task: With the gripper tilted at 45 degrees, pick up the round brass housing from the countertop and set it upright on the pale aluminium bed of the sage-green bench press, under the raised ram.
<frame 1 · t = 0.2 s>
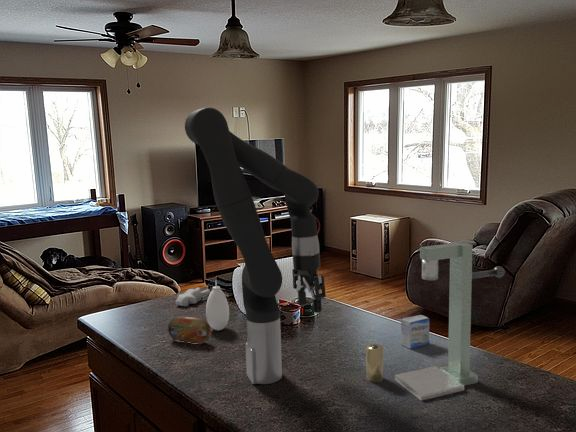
hand: (310, 308, 145), 18 cm above the kitchen island, tool pointing down, fingers open, 8 cm apart
press bed: (428, 385, 135), on the kitchen island
tin: (190, 342, 170), on the kitchen island
housing: (374, 378, 140), on the kitchen island
medicine box: (415, 345, 162), on the kitchen island
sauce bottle: (218, 330, 180), on the kitchen island
bunny figurine: (192, 302, 211), on the kitchen island
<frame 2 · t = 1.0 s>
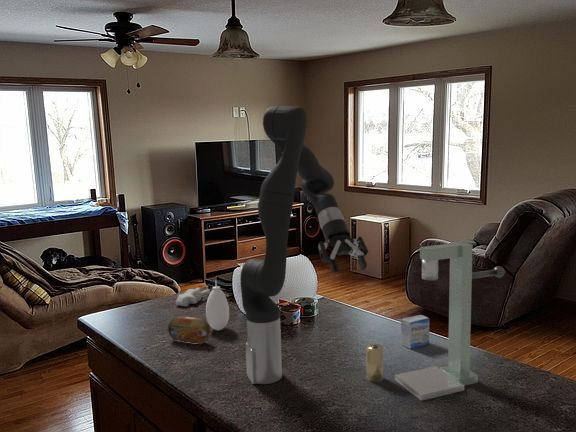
hand: (350, 270, 148), 27 cm above the kitchen island, tool tilted 45°, fingers open, 8 cm apart
nothing on the kitchen island moved.
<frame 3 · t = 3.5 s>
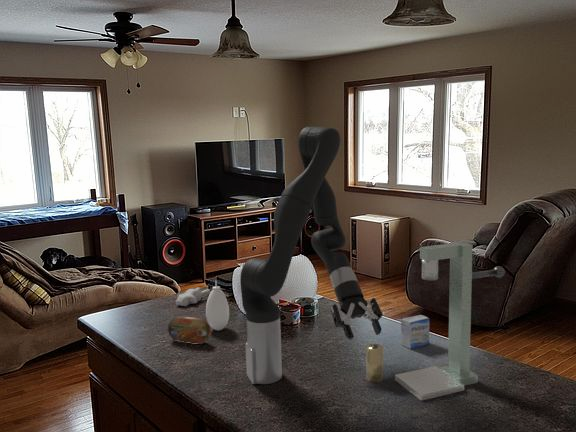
hand: (365, 336, 143), 10 cm above the kitchen island, tool tilted 45°, fingers open, 8 cm apart
nothing on the kitchen island moved.
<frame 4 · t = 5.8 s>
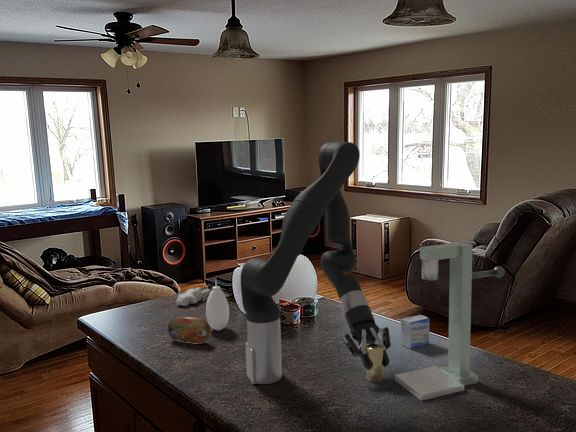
hand: (378, 366, 138), 4 cm above the kitchen island, tool tilted 45°, fingers closed on housing, 4 cm apart
housing: (374, 378, 140), on the kitchen island, touching gripper
everything else where it was.
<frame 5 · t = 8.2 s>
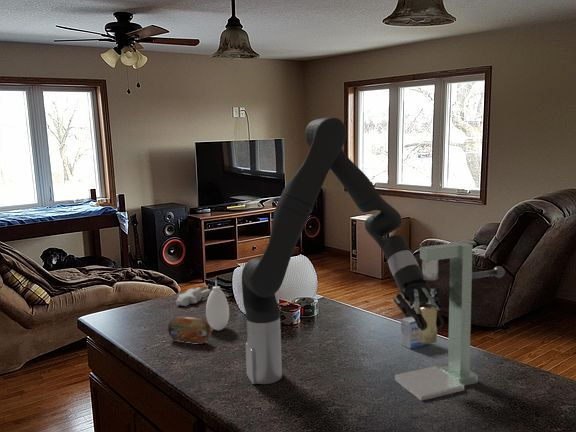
hand: (432, 327, 132), 16 cm above the kitchen island, tool tilted 45°, fingers closed on housing, 4 cm apart
housing: (427, 339, 134), point 12 cm above the kitchen island, touching gripper
everything else where it was.
when the fingers open (7 cm above the kitchen island, at t = 10.8 s): housing drops 1 cm, resting on press bed.
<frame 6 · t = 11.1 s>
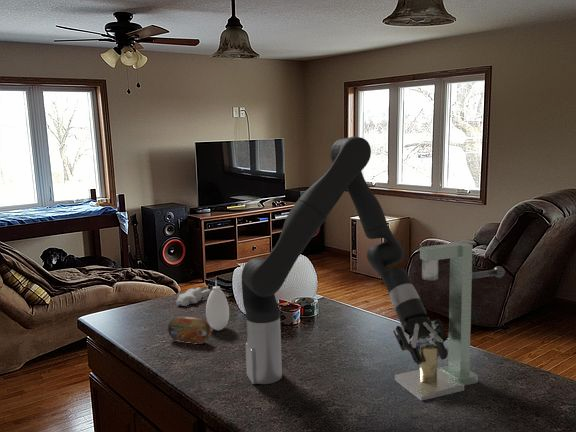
hand: (432, 360, 133), 7 cm above the kitchen island, tool tilted 45°, fingers open, 7 cm apart
housing: (428, 379, 135), point 2 cm above the kitchen island, touching press bed
everything else where it was.
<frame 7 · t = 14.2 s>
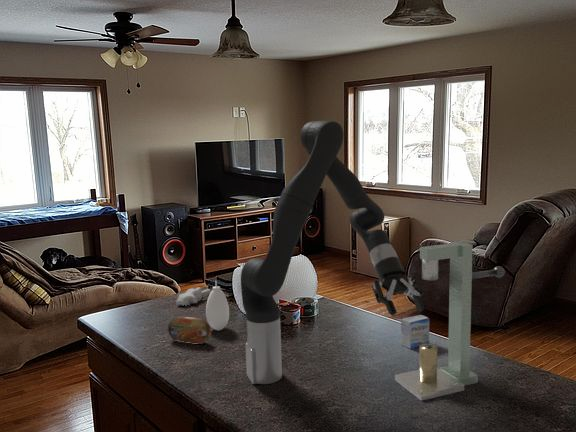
hand: (408, 312, 142), 17 cm above the kitchen island, tool tilted 45°, fingers open, 8 cm apart
nothing on the kitchen island moved.
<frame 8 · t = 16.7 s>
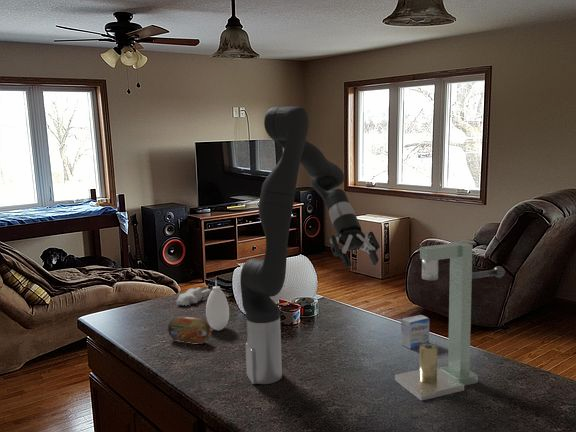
hand: (362, 265, 148), 29 cm above the kitchen island, tool tilted 45°, fingers open, 8 cm apart
nothing on the kitchen island moved.
at the end: housing inside the target area on the press bed (0.1 cm from its centre), point 1.5 cm above the press bed's base; housing tilted 0°; the gripper is holding nothing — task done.
